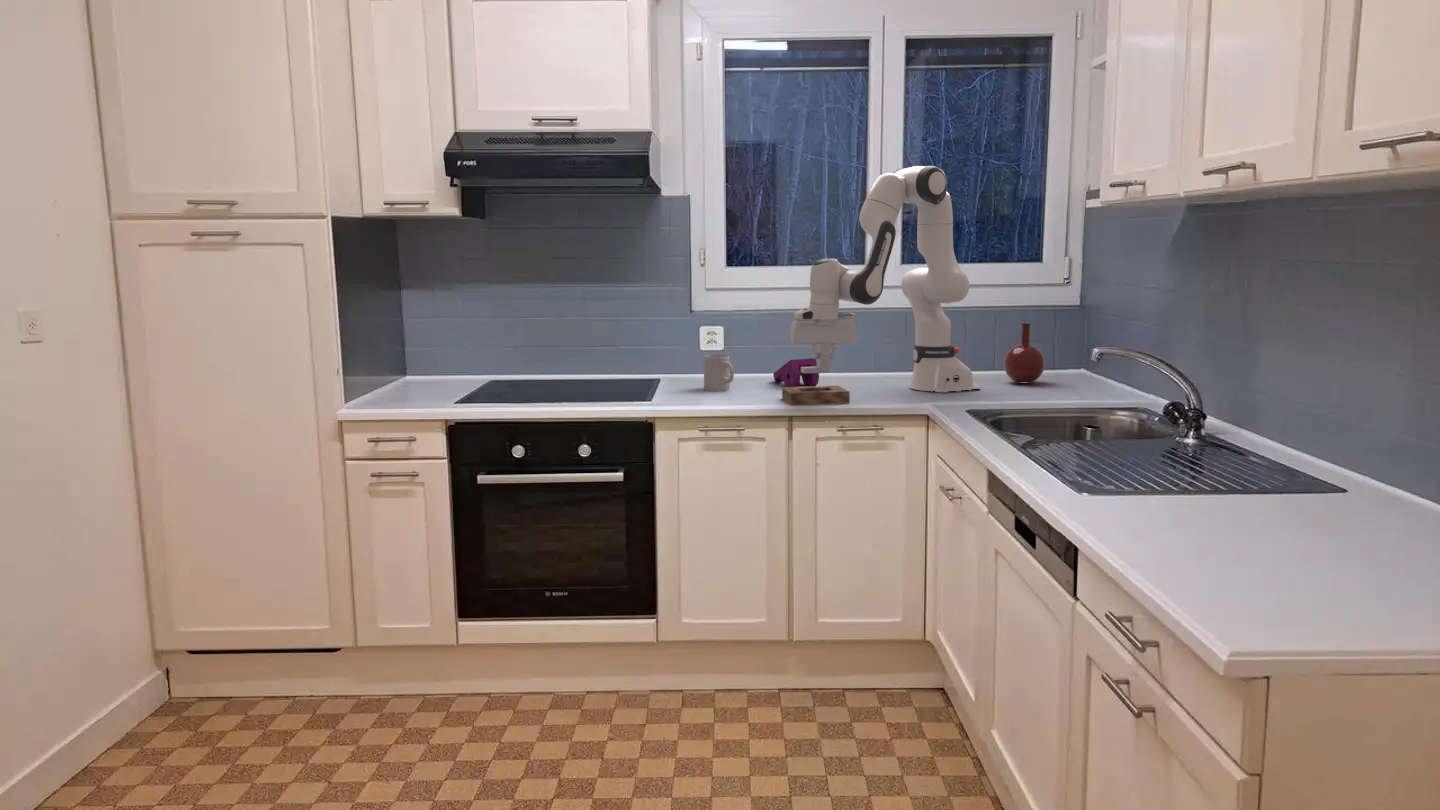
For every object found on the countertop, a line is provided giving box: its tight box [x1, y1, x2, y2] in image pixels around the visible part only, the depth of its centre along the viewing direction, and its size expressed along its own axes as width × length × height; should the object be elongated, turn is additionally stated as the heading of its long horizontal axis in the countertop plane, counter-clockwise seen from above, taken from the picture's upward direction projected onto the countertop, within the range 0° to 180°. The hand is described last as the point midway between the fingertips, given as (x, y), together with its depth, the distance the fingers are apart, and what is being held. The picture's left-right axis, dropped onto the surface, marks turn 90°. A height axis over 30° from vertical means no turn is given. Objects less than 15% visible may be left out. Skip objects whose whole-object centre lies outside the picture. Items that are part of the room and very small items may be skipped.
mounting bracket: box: [773, 357, 820, 387], centre depth 332 cm, size 10×8×18 cm
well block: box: [781, 384, 851, 406], centre depth 300 cm, size 18×12×4 cm, turn 99°
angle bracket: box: [801, 343, 831, 374], centre depth 298 cm, size 8×4×9 cm, turn 99°
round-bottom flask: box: [1003, 323, 1046, 383], centre depth 329 cm, size 13×13×20 cm
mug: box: [703, 354, 735, 391], centre depth 322 cm, size 12×8×11 cm
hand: (823, 358), depth 298 cm, fingers closed on angle bracket, 3 cm apart
